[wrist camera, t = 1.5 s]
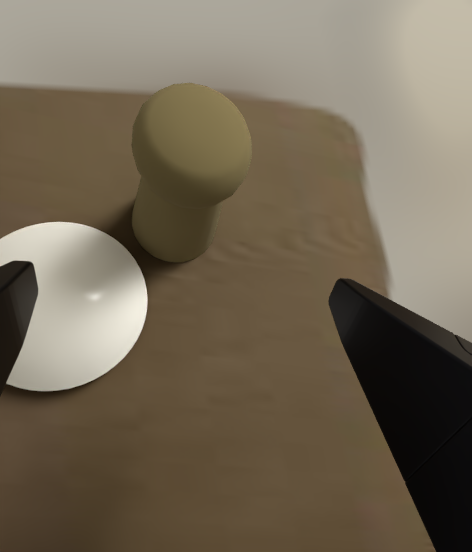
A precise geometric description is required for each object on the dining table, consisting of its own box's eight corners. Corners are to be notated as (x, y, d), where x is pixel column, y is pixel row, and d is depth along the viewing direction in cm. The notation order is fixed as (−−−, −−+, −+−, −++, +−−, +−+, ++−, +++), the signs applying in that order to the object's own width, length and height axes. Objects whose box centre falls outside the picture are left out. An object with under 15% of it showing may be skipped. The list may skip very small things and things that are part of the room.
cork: (136, 267, 21) (127, 199, 11) (126, 184, 22) (108, 48, 12) (221, 258, 23) (284, 193, 13) (209, 182, 24) (257, 62, 13)
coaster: (61, 424, 18) (56, 429, 17) (-75, 309, 17) (-91, 308, 16) (178, 299, 21) (180, 297, 20) (67, 198, 21) (62, 190, 20)
